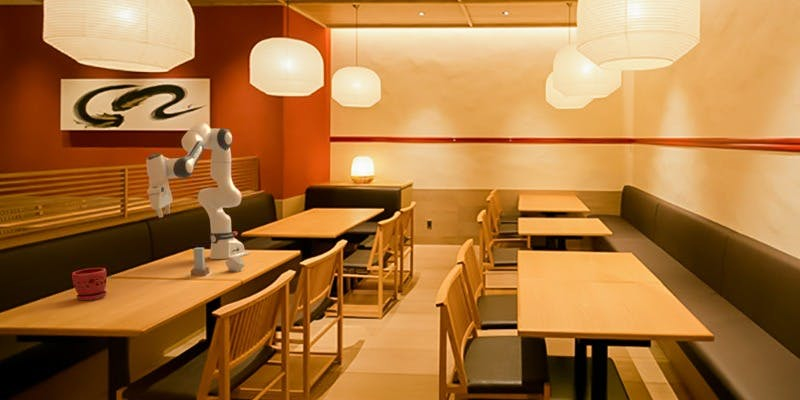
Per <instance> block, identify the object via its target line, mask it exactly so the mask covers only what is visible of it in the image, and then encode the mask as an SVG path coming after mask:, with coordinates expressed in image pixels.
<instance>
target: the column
mask: <svg viewBox="0 0 800 400" xmlns="http://www.w3.org/2000/svg"><path fill="white" fill-rule="evenodd" d="M193 263H194V268H195V270H198V269H204V268H205V267H206V256H205V247H194V248H193Z"/></svg>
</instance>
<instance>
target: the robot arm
mask: <svg viewBox="0 0 800 400" xmlns="http://www.w3.org/2000/svg"><path fill="white" fill-rule="evenodd" d="M233 137H234V136H233V134H232V132H231V131H230V130H229V129H227V128H211V127H210V126H209V124H207V123H205V122H199V123H197V124H195V125H194V126H192V127H190V129H188V130H187V131H186V133H185V134H184V135H183V136H182V138H181V146H182V148H183V150H184V151H186V153H187V154H186V155H185V156H183V157H178V158H177V157H176V158H168V157H166V156H164V155H163V154H162V153H154V154H151V155H149V156H148V157H147V158H146V161H145V163H146V165H145V166H146V171H147V176H148V178H149V180H148V184H149V186H148V189H147V190H146V193H147V195H148V200H149V204H150V207H151V210H154V211H156V213H157V215H158V218H159V219H160V218H163V217H164V214H165V215H168V214H170V213H171V211H170V209H171V208H170V207H171V205H170V204H172V203H173V195H172V191H171V189H170V185H169V184H170V182H169V179H179V178H180V179H188V178H190V177H191V176H192V175H193V172H194V170H195V167H196V165H197V163H198V162H199V160H200V159H201V157H202V156H203V154H204V151H205V149H206V150H211V154H210V155H211V156H210V171H209V175H210V177H211V179H212V180H213V181H215V182H216V184H217V187H207V188H202V189H200V190H199V192H198V194H197V201H198V202H199V205H201V207H203V208H204V209H205V211H206V212H207V215H208V218H209V223H210V235H209V236H210V242H211V243H210V252H209V257H208V259H211V260H226V259H227V260H228V259H229V258H230V257H232V256H241V257H244V256H248V255H250V253H249V252H248V251H245V246H244V244H243V242H241V241H239V239H236V238H235V236H237V235H238V231H232V219H231V216H230V215H229V214H226V213H225V211H224V209H223V208H228V209H229V208H235V207H238V206H239V205H240V204H241V202H242V198H243V197H242V196H243V195H242V193H241V191H240V190H239V189H238V188H237V187H236V186H235V184H234V182H233V180H232V152H231V146H232V143H233ZM162 208H165V210H164V214H163V211H162Z"/></svg>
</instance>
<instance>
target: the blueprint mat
mask: <svg viewBox="0 0 800 400" xmlns="http://www.w3.org/2000/svg"><path fill="white" fill-rule="evenodd" d="M211 274H212V272H210V273H209V274H208V275H206V276H191V274H190V275H188V278H199V277H200V278H201V277H204V278H205V277H206V278H207V277H208V276H210V275H211Z"/></svg>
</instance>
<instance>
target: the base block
mask: <svg viewBox="0 0 800 400" xmlns="http://www.w3.org/2000/svg"><path fill="white" fill-rule="evenodd" d="M209 273H211V271H210V267H209V266H205V268H204V269H198V270H195V267H194V268H192V269H190V275H191V276H206V275H208V274H209Z"/></svg>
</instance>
